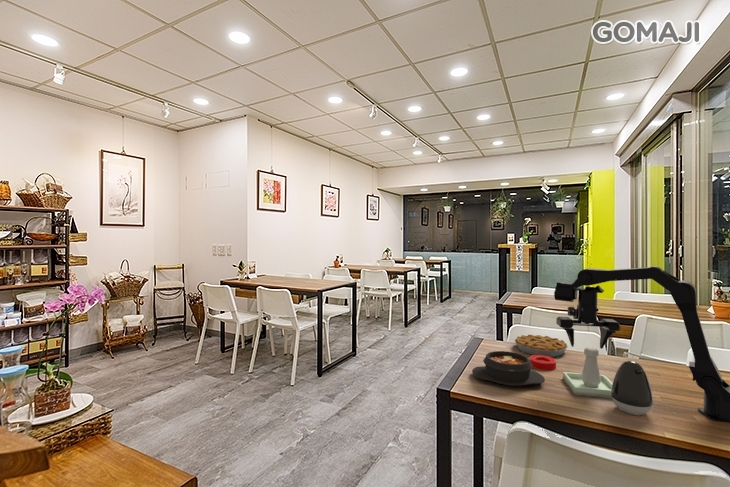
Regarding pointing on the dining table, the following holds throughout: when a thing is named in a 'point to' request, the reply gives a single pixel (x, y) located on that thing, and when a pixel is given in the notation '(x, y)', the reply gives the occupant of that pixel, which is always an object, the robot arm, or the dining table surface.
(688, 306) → the robot arm
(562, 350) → the pie
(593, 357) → the salt shaker
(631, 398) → the dark grey egg shape
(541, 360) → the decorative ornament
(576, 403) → the dining table surface
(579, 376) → the tray
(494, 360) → the casserole
